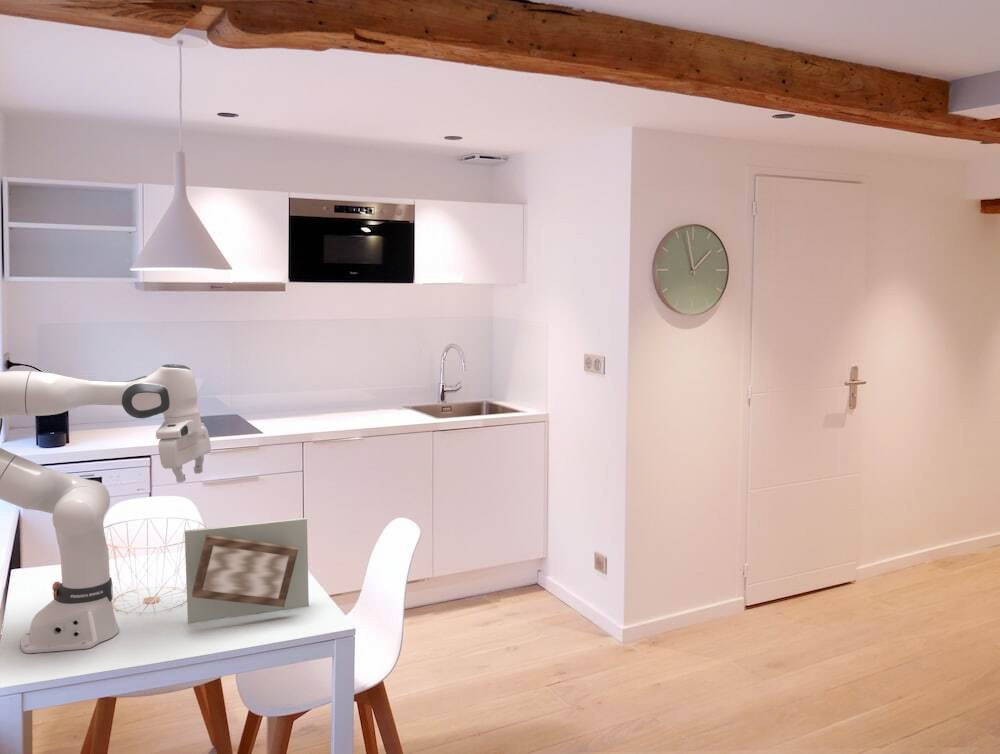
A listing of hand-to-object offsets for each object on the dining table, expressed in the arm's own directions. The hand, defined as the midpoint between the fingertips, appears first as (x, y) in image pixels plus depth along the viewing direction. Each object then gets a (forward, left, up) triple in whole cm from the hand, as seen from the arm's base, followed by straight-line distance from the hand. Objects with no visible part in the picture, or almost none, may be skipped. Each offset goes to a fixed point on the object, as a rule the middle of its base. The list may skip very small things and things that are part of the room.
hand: (190, 477), depth 228 cm
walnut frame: (+11, -6, -33) cm, 35 cm away
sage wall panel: (+14, -2, -39) cm, 42 cm away
